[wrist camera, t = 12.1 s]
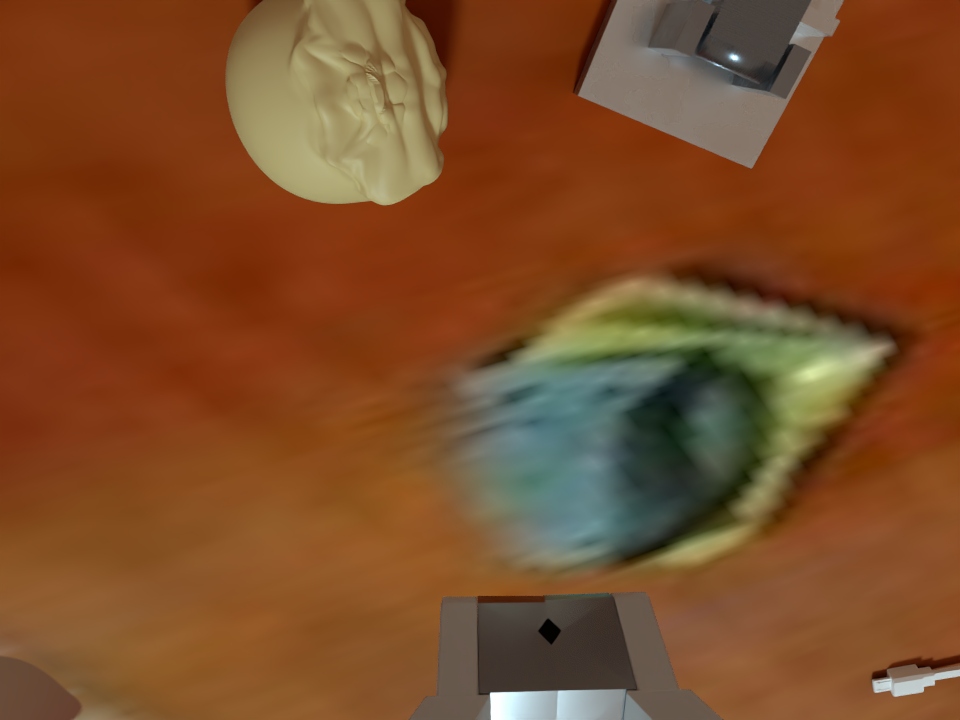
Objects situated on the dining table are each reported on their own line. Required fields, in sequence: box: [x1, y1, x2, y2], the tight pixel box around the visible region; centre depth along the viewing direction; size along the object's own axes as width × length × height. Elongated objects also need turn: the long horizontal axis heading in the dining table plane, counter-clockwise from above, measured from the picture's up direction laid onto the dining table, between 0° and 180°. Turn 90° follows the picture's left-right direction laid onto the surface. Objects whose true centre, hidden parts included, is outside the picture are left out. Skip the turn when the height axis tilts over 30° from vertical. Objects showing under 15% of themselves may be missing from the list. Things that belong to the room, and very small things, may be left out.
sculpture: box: [226, 0, 448, 205], centre depth 36 cm, size 12×12×11 cm
